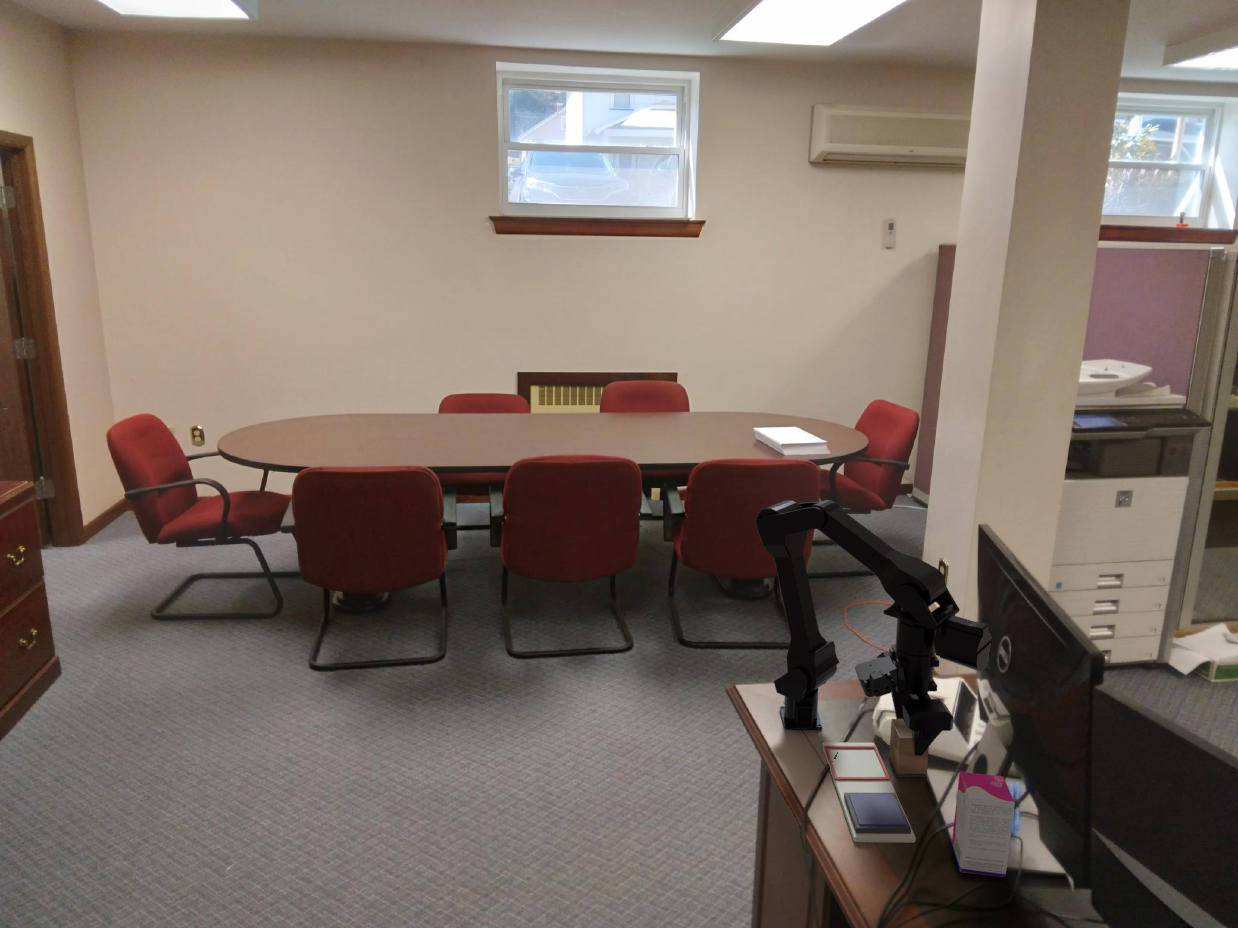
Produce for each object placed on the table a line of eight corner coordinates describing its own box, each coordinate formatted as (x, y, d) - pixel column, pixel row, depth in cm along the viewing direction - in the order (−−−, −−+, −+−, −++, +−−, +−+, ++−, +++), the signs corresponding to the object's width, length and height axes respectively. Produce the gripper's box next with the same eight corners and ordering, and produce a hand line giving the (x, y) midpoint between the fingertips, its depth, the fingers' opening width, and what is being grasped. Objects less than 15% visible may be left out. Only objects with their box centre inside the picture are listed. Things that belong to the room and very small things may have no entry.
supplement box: (1007, 878, 102) (1016, 803, 99) (959, 872, 103) (966, 798, 100) (996, 846, 108) (1003, 774, 105) (950, 841, 109) (956, 769, 106)
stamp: (889, 759, 127) (891, 718, 125) (917, 759, 127) (920, 718, 125) (897, 776, 123) (899, 735, 121) (926, 776, 122) (929, 735, 120)
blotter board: (822, 746, 131) (822, 736, 130) (873, 746, 130) (874, 736, 130) (853, 841, 109) (854, 830, 109) (915, 842, 109) (916, 830, 108)
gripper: (847, 619, 129) (843, 704, 133) (878, 679, 111) (872, 774, 115) (916, 619, 128) (910, 703, 132) (958, 679, 110) (950, 774, 114)
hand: (908, 736), depth 123 cm, fingers open, 9 cm apart
